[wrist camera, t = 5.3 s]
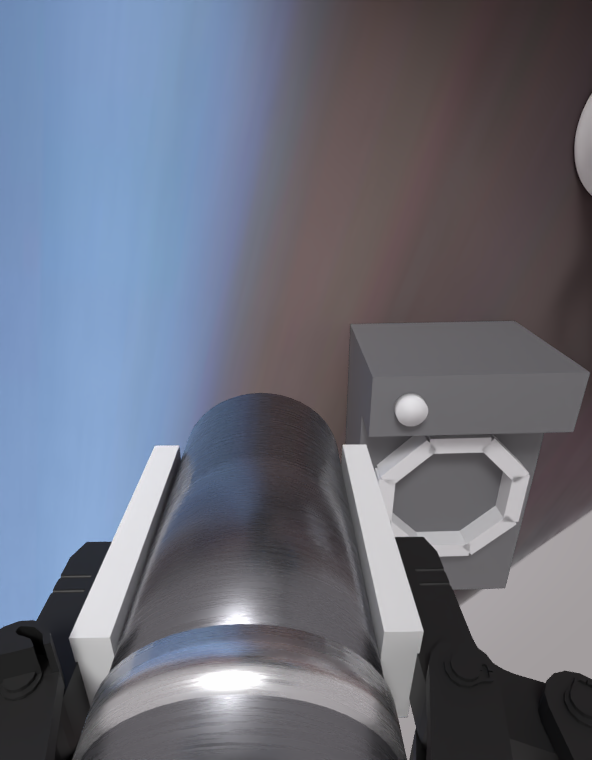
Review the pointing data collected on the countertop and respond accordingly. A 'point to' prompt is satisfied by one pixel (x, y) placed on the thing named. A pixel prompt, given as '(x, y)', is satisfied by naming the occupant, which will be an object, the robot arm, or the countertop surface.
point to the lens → (249, 608)
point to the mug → (584, 146)
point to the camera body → (458, 431)
